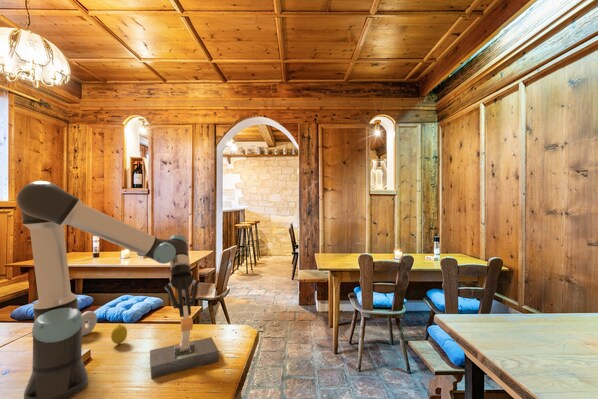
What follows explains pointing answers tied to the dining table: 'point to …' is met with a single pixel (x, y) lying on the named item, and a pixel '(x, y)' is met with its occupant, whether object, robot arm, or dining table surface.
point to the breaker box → (182, 357)
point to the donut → (91, 322)
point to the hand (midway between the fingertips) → (186, 324)
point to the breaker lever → (185, 332)
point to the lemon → (119, 334)
